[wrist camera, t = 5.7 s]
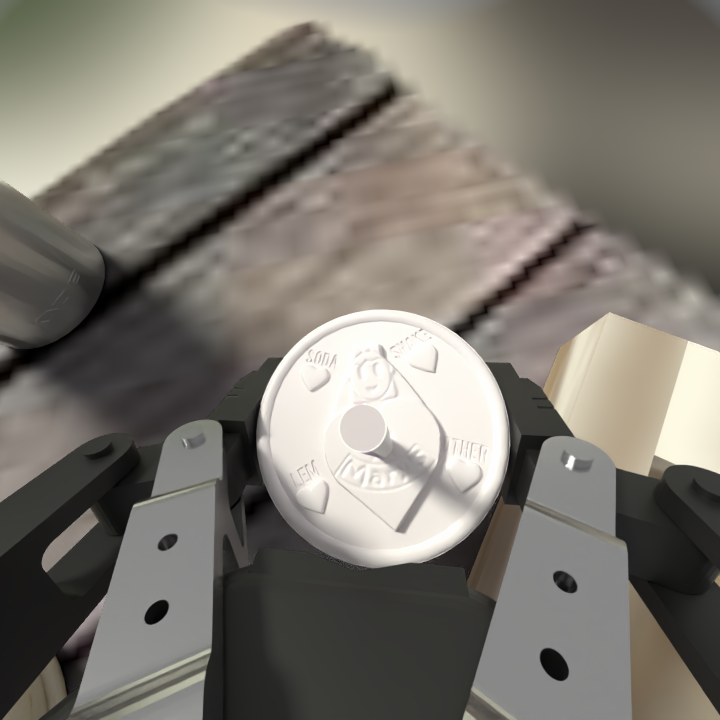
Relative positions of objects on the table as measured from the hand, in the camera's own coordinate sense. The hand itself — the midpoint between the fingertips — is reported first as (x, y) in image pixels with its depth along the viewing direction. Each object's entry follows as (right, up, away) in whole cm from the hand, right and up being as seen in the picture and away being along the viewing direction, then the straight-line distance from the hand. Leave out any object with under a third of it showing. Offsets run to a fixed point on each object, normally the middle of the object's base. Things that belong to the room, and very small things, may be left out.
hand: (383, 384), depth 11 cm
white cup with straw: (+1, -4, +6) cm, 7 cm away
